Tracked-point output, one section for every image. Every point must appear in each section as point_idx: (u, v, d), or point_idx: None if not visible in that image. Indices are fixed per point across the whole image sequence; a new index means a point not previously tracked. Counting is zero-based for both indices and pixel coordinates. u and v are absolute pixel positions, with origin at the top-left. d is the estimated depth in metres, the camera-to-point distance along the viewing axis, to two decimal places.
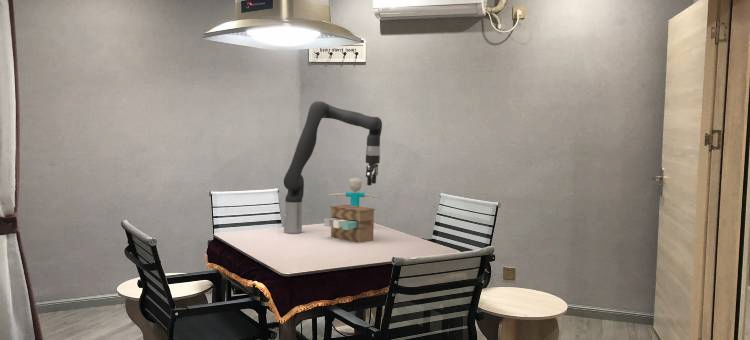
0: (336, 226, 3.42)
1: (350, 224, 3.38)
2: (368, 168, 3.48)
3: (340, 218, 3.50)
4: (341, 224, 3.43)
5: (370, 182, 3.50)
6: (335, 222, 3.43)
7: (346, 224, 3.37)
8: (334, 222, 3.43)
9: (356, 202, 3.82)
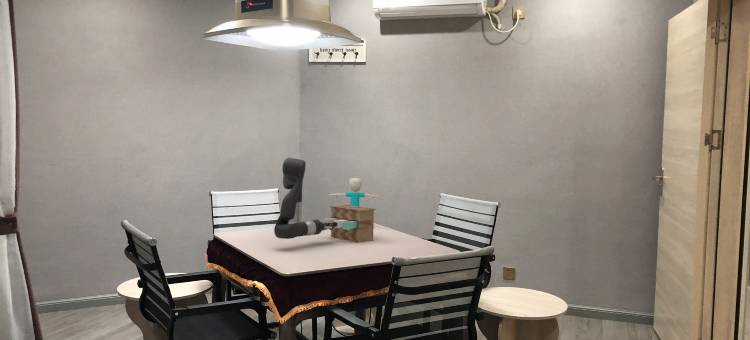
0: None
1: (350, 224, 3.38)
2: None
3: (340, 218, 3.50)
4: (341, 224, 3.44)
5: None
6: None
7: (346, 224, 3.37)
8: None
9: (356, 202, 3.82)
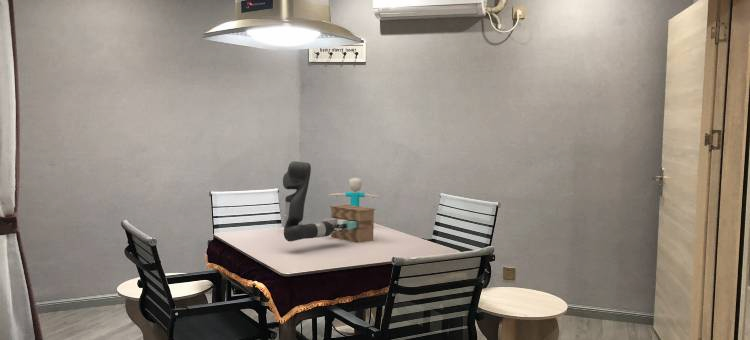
0: None
1: (351, 224, 3.39)
2: None
3: (340, 218, 3.50)
4: None
5: None
6: (339, 221, 3.45)
7: (347, 224, 3.37)
8: (338, 221, 3.45)
9: (356, 202, 3.82)
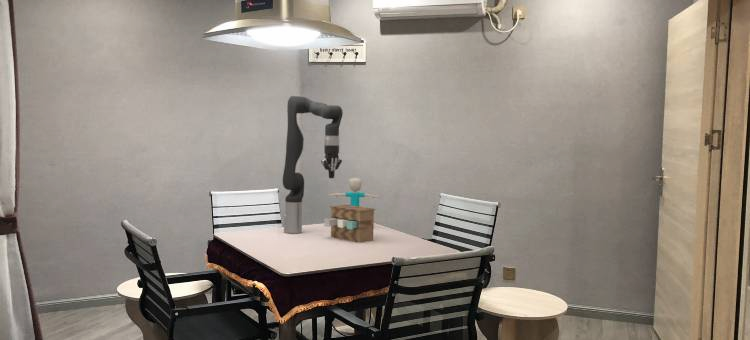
0: (340, 225, 3.44)
1: (354, 223, 3.40)
2: (323, 163, 3.35)
3: (340, 218, 3.50)
4: (345, 223, 3.45)
5: (331, 175, 3.38)
6: (339, 221, 3.45)
7: (350, 223, 3.39)
8: (338, 221, 3.45)
9: (356, 202, 3.82)
